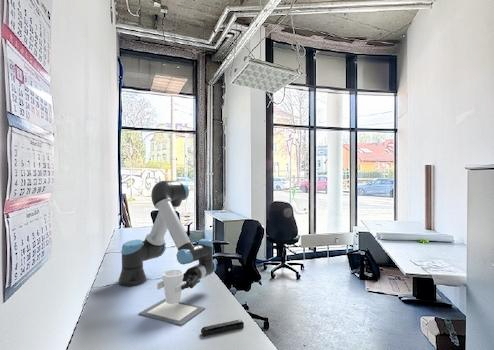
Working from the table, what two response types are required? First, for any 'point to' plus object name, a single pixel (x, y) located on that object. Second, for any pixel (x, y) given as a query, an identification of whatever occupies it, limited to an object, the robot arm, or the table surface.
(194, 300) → the table surface
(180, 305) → the picture frame
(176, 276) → the foam cup
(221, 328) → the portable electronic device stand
